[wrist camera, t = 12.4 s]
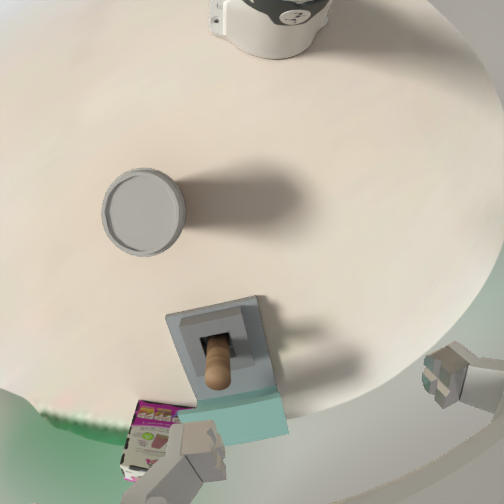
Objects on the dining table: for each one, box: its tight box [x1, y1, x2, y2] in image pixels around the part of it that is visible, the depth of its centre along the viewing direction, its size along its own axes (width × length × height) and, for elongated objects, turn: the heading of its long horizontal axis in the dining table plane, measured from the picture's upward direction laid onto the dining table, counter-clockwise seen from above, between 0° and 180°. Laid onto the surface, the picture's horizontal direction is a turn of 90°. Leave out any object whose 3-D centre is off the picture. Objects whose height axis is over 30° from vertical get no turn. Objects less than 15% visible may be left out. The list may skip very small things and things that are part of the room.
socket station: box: [165, 295, 289, 446], centre depth 41 cm, size 18×14×12 cm
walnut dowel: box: [205, 332, 231, 391], centre depth 39 cm, size 3×3×11 cm
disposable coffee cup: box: [101, 168, 186, 257], centre depth 34 cm, size 10×10×12 cm
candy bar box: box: [120, 400, 193, 482], centre depth 41 cm, size 11×5×16 cm, turn 82°
